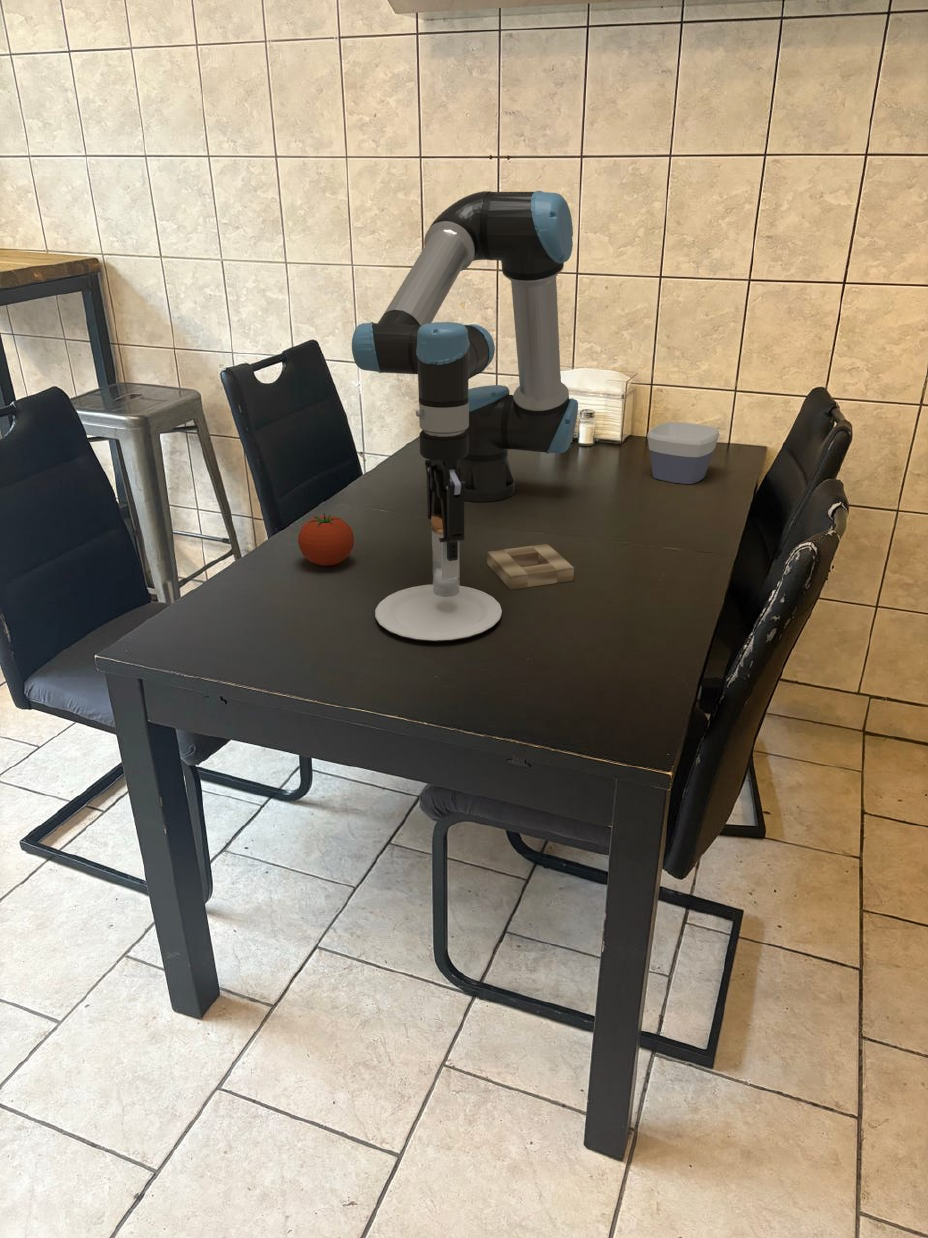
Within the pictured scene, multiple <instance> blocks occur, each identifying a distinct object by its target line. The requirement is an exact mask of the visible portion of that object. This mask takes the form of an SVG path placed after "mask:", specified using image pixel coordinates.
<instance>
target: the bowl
mask: <svg viewBox="0 0 928 1238" xmlns="http://www.w3.org/2000/svg"><path fill="white" fill-rule="evenodd" d="M646 436H647V444H648V450H649V451H648V452H649V456H650V463H651V464H650V465H651V472H652V478H653V479H656V480H659V481H662V482H667V483H673V484H674V483H675V484H682V485H694V484H697V483H698V482H700V481H701V480H703V479H704V478H705V476H706V474H707V471H708V468H709V465H710V462H711V460H712V456H713V455H714V451H715V449H716V446H717V444H718V440H719V437H720V432H719V429H718V428H717V427H714V426H708V425H704V424H697V423H690V422H681V421H665V422H661V423H659V424H657V425H655V426H653V427H652V428H650V430H649V431H648V432H647V435H646Z"/></svg>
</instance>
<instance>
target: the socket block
mask: <svg viewBox="0 0 928 1238" xmlns="http://www.w3.org/2000/svg"><path fill="white" fill-rule="evenodd" d="M486 554H487V556H486V557H487V559H486V560H487V561H486V563H487V565H488V566H489V568H490V569H491V570H492V571H493V572H494V573H495V575H496V576H497V577H498V578H499V579H500V580H501V581H502V582H503V583H504V584H505V586H507V588H508V589H509V590H517V589H518V590H519V589H525V588H532V587H537V586H538V587H539V586H546V585H551V584H558V583H566V582H572V581H574V573H575V566H573V565H572V564H571V563H569V562H568V561H567V560H566V559H565V558H564V557H563V556H561V554H559V552H557V551H556V550H555V549H554V548H552V546H550V545H549V544H548V543H544V544H537V545H535V544H534V545H529V546H520V547H513V548H504V549H499V550H491V551H487V553H486Z"/></svg>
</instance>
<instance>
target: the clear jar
mask: <svg viewBox="0 0 928 1238" xmlns="http://www.w3.org/2000/svg"><path fill="white" fill-rule="evenodd" d="M430 526H431V528H430V529H431V545H432V546H431V547H432V548H431V549H432V550H431V551H432V552H431V553H432V555H431V556H432V557H431V558H432V585H433V593H434V594H435V595H438V596H442V597H451V596H455V595H457V594H458V593H459V592H460V586H461V585H460V583H461V582H460V581H461V580H460V579H461V578H460V577H461V576H460V565H461V564H460V563H461V562H459V577H453V578H446V579H443V578H442V543H440V540H439V538H443V537H444V535H443V523H442V512H441V513H436V514H434V515H432V516H431V520H430Z"/></svg>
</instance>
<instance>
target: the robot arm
mask: <svg viewBox="0 0 928 1238" xmlns="http://www.w3.org/2000/svg"><path fill="white" fill-rule="evenodd" d="M573 226H574V225H573V219H572V214H571V210H570V206H569V205H568V202H567V200H566V199H565V197H564V196H563V195H562V194H560V193H557V192H550V191H549V192H548V191H546V192H545V191H542V190H536V191H490V190H489V191H484V190H483V191H479V192H474V193H472V194H469V195H466V196H464V197H462V198H461V199H458V200H457V201H455V202H454V203H452V204H451V205H449V206H448V207H447V208H446V209H445V210H443V211H442V212H441V213H440V214H439V215H438V216H437V217H436V218H435V219H434V221H433V222H432V223H431V224H430V226H429V228H428V229H427V231H426V233H425V235H424V239H423V245H424V247H423V248H422V250H421V252H420V254H419V255H418V257H417V258H416V260H415V262H414V263H413V264H412V265H413V266H411V267H410V270H409V272H408V273H407V275H406V276H405V279H404V280H403V282H402V283H401V285H400V286H399V288H398V290H397V291H396V293H395V294H394V296H393V298H392V300H391V301H390V302H389V305H388V306H387V307H386V310H385V311H384V313H383V314H382V316H381V317H380V319H379V320H378V322H376V323H375V322H374V321H370V322H362V323H360V324H358V325H357V326H356V328H355V329H354V331H353V335H352V337H351V353H352V356H353V362H354V363H355V365H356V366H357V367H358V368H359V370H362V371H369V372H376V373H379V374H399V375H402V374H403V375H404V374H405V375H417V384H418V406H419V407H418V408H419V409H418V410H416V411H415V416H416V417H418V418H419V428H420V429H421V431H420V432H419V454H420V455H421V457H423V458H424V459H425V461H424V465H425V474H426V498H427V499H426V501H427V507H426V508H427V519H428V520H430V521H431V516H432V515H434V514H436V513H441V512H442V523H443V535H444V537H443V538H439V540H440V543H442V578H443V579H446V578H453V577H459V563H460V541H464V540H465V501H467V502H468V501H469V502H482V503H483V502H484V503H485V502H496V501H501V500H505V499H508V498H510V497H512V496H513V495H514V494H515V492H516V482H515V477H514V476H513V475H514V474H513V471H512V468H511V466H510V462H509V457H508V456H509V455H508V454H509V453H508V451H509V450H510V451H511V450H514V451H525V452H526V451H527V452H536V453H546V454H563V453H565V452H566V451H567V450H568V449H569V448H570V446H571V444H572V443H571V442H572V440H573V436H574V433H575V429H576V423H577V420H578V419H577V418H578V414H579V413H578V411H579V402H578V400H577V399H574V398H573V397H571V398H570V393H569V391H570V390H569V388H568V386H567V385H566V384H565V383H563V382H562V379H561V377H562V376H561V375H562V374H561V357H560V354H561V353H560V351H561V350H560V333H559V311H558V310H559V309H558V308H559V307H558V289H557V288H558V287H557V283H558V282H557V276H558V275H559V274H560V273H561V272H562V271H563V270H564V267H565V264H564V263H566V262H568V261H569V260H570V258H571V255H572V252H573V247H574V241H573V237H574V230H573V229H574V227H573ZM483 260H484V261H500V262H501V272H502V274H503V276H504V277H505V278H507V279H508V280H509V281H510V283H511V293H512V294H511V296H512V307H513V308H512V309H513V321H514V331H515V332H514V333H515V335H514V336H515V343H516V344H515V345H516V356H517V358H516V359H517V367H518V368H517V369H518V370H517V372H518V381H519V383H518V384H519V386H518V387H516V389H515V390H514V392H513V394H510V393H511V392H510V389H509V387H508V386H506V385H502V384H501V385H500V384H495V385H492V384H490V385H482V386H476V387H471V388H469V380H470V379H472V378H473V377H475V376H477V375H480V374H482V373H483V372H484V371H485V370H486V368H487V367H488V366H489V365H490V364H491V363H492V361H493V359H494V357H495V351H496V346H495V341H494V339H493V337H492V335H491V333H490V332H489V331H488V330H487V329H486V328H485V327H483V326H482V325H478V324H473V323H472V324H462V323H458V322H455V321H454V322H453V321H440V322H439V321H438V322H433V321H434V319H435V317H436V315H437V313H438V312H439V310H440V308H441V307H442V304H443V303H444V301H445V299H446V297H447V296H448V294H449V292H450V290H451V289H452V287H453V285H454V283H455V282H456V279H457V278H458V276H459V274H460V273H461V272H462V271H465V270H467V269H468V267H470V265H471V264H472V263H473V262H475V261H483Z"/></svg>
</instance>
